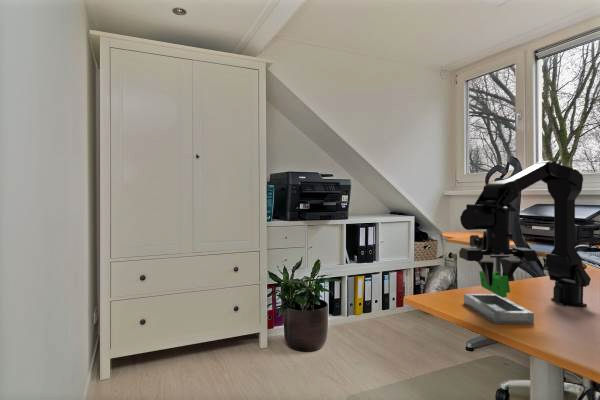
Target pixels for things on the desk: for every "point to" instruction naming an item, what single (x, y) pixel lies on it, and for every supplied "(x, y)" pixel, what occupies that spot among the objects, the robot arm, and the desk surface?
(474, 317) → the desk surface
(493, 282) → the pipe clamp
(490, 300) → the gray rectangular tray
